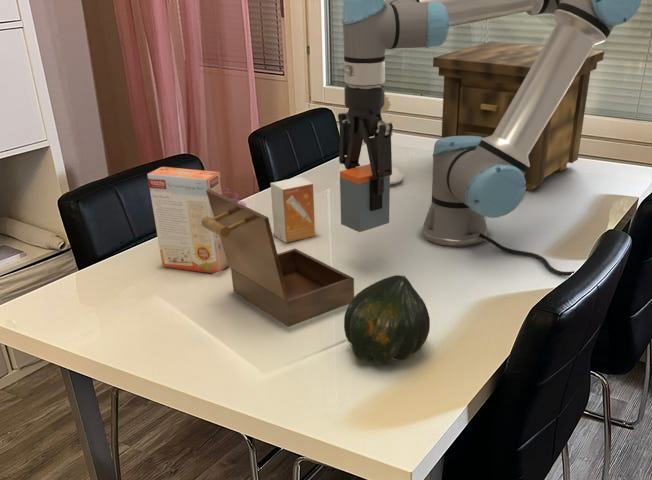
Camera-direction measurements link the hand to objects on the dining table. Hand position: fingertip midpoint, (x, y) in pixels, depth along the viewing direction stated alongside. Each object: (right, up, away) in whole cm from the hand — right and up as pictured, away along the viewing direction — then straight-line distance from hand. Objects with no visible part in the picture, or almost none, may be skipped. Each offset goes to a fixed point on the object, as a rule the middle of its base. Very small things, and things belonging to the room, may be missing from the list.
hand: (365, 204), depth 146 cm
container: (0, -3, +2) cm, 4 cm away
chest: (-14, -20, -2) cm, 24 cm away
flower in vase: (+4, +20, +62) cm, 65 cm away
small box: (-17, -2, +27) cm, 32 cm away
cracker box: (-37, -11, +12) cm, 40 cm away
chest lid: (-21, -10, -15) cm, 28 cm away
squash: (+4, -30, -20) cm, 36 cm away
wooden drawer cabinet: (+43, +25, +70) cm, 86 cm away
